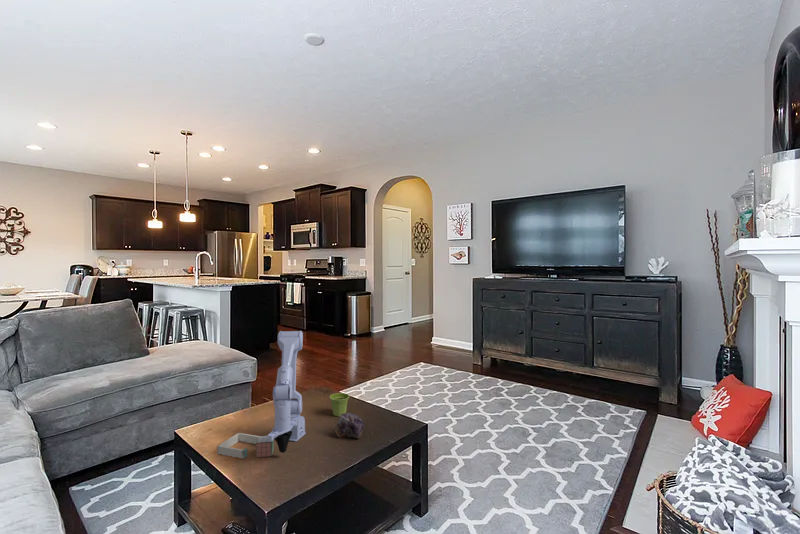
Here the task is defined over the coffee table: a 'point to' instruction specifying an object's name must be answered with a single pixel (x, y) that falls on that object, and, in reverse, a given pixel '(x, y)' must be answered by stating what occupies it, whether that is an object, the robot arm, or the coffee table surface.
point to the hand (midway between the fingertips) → (282, 451)
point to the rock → (349, 426)
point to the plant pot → (339, 403)
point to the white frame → (234, 452)
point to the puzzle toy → (264, 447)
